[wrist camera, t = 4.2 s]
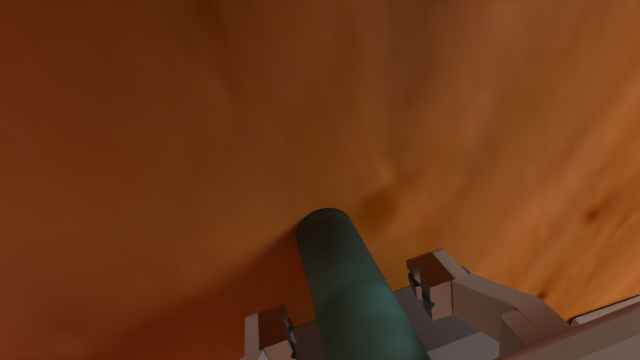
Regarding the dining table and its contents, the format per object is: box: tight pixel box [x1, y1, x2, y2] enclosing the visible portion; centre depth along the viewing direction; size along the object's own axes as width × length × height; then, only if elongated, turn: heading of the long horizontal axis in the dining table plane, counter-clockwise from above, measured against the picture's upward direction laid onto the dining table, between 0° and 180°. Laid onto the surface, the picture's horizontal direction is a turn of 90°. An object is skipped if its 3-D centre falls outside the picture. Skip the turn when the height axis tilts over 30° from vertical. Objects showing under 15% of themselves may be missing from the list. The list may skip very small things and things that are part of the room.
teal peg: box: [297, 208, 431, 360], centre depth 11 cm, size 3×3×10 cm
